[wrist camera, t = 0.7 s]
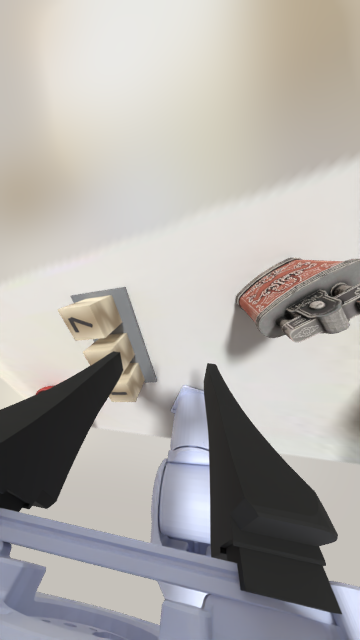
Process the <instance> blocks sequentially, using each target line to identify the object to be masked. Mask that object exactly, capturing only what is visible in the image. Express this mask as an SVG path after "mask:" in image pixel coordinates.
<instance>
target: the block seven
mask: <svg viewBox="0 0 360 640" xmlns="http://www.w3.org/2000/svg"><path fill="white" fill-rule="evenodd" d="M58 312H59V313H60V315H61V317H62V318H63V320H64V322H65V324H66V325H67V327H68V329H69V330H70V332H71V334H72V335H73V337H74V339H75V340H76V341H78V340H89V339H100V338H106V337H107V336H108V335H109V334H110V333H111V332H112V331H113V330H115V329H116V328H117V327H118V326H119V325H120V324H121V323H122V320H121V317H120V315H119V312H118V310H117V307H116V305H115V302H114V299H113V297H112V295H108V296H102V297H95V298H89V299H84V300H81V301H79V302H76V303H74V304H71V305H69V306H66V307H63V308H61V309H58Z"/></svg>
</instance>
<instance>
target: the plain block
mask: <svg viewBox="0 0 360 640" xmlns="http://www.w3.org/2000/svg"><path fill="white" fill-rule="evenodd" d="M113 351H115V352H120V354H121V359H122V365H123V372H122V374H123V373H124V371H125V370H126V368H127V366H128V365H129V363H130V361H131V360H132V358H133V357H134V355H135V353H134V351H133V348H132V345H131V343H130V340H129V338H128V335H127V333H122V334H111V335H108V336H107V337H106V338H100V339H98V340H97V341H95V342H94V343H93V344H92V345H91V346H90V347H88V348H87V349H86V350H85V351H84V352H83V354H84V355H85V357H86V359H87V360H88V362H89V364H90V366H91V365H92V364H94V363H95V362H97V361H99V360H100V359H102V358H103V357H105V356H106V355H108V354H110V353H111V352H113Z"/></svg>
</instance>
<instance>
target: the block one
mask: <svg viewBox="0 0 360 640" xmlns="http://www.w3.org/2000/svg"><path fill="white" fill-rule="evenodd" d="M144 381H145V379H144V376H143V374H142V371H141V369H140V366H139V363H129V365H128V366H127V368H126V370H125V371H124V373H123V374H121V377H120V379H119V381H118V382H117V384H116V386H115V387H114V389H113V391H112V392H111V394H110V395H109V397H110V399H111V401H112V402H136V400H137V398H138V395H139V393H140V390H141V388H142V386H143V383H144Z"/></svg>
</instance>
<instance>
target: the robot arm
mask: <svg viewBox="0 0 360 640" xmlns="http://www.w3.org/2000/svg"><path fill="white" fill-rule="evenodd" d="M122 372H123V365H122V359H121V354H120V352H115V351H113V352H111V353H110V354H108V355H106V356H105V357H103V358H102V359H100V360H99V361H97V362H95V363H94V364H92V365H91V366H89V367H88V368H86V369H84V370H83V371H81V372H79V373H77V374H76V375H74V376H72V377H71V378H69V379H67V380H65V381H63V382H61V383H59V384H57V385H56V386H54V387H52V388H50V389H47V390H45V391H43V392H41V393H39V394H37V395H34V396H32V397H30V398H28V399H26V400H23V401H21V402H19V403H16V404H14V405H11V406H9V407H6V408H4V409H1V410H0V640H360V587H358V586H353V585H349V584H344V583H340V582H334V581H329V580H328V578H327V576H326V573H325V571H324V568H323V566H326V563H325V560H324V557H323V555H322V553H321V550H320V548H319V546H321V545H325V544H329V543H332V542H335V541H336V540H337V536H338V534H337V532H336V530H335V528H334V526H333V524H332V523H331V520H330V518H329V516H328V514H327V512H326V511H325V509H324V507H323V505H322V503H321V502H320V500H319V498H318V496H317V494H316V493H315V492H314V490H312V488H311V487H310V486H309V485H308V484H306V482H305V481H304V480H303V479H302V478H301V477H300V476H299V475H298V474H297V473H296V472H295V471H294V470H293V469H292V468H291V467H290V466H289V465H288V464H287V463H286V462H285V461H284V460H283V459H282V457H281V456H280V455H279V454H278V453H277V452H276V451H275V450H274V448H273V447H272V446H271V445H270V444H269V443H268V441H267V440H266V439H265V438H264V437H263V436H262V434H261V433H260V432H259V431H258V430H257V428H256V427H255V426H254V425H253V423H252V422H251V421H250V419H249V418H248V417H247V415H246V414H245V413H244V411H243V410H242V409H241V407H240V406H239V404H238V403H237V401H236V400H235V398H234V397H233V395H232V393H231V392H230V390H229V388H228V387H227V385H226V383H225V382H224V380H223V378H222V376H221V374H220V372H219V370H218V368H217V366H216V365H215V364H209V363H207V368H206V373H205V378H204V391H202V390H198V389H195V388H192V387H189V386H186V385H184V386H182V388H181V390H180V392H179V394H178V396H177V398H176V400H175V402H174V404H173V406H172V408H171V412H172V413H175V415H174V422H173V429H172V437H171V450H170V451H169V453H168V459H164V460H163V461H162V463H161V465H160V466H159V468H158V471H157V474H156V478H155V482H154V488H153V495H152V506H151V518H152V529H151V543H148V542H144V541H140V540H135V539H131V538H127V537H122V536H118V535H114V534H110V533H106V532H101V531H97V530H92V529H88V528H84V527H80V526H76V525H71V524H67V523H63V522H58V521H54V520H50V519H46V518H41V517H37V516H33V515H29V514H24V513H20V512H19V511H20V510H21V508H26V509H30V508H31V507H32V506H36V507H41V508H45V509H47V508H49V507H50V506H51V505H53V504H54V503H55V502H56V501H57V498H58V496H59V494H60V491H61V489H62V487H63V484H64V482H65V480H66V478H67V475H68V473H69V471H70V469H71V466H72V464H73V462H74V460H75V458H76V456H77V454H78V451H79V449H80V447H81V445H82V443H83V441H84V439H85V437H86V435H87V433H88V431H89V429H90V427H91V426H92V424H93V422H94V420H95V418H96V416H97V414H98V413H99V411H100V409H101V408H102V406H103V405H104V403H105V402H106V400H107V398H108V397H109V395H110V394H111V392H112V391H113V389H114V387H115V386H116V384H117V382H118V381H119V379H120V377H121V374H122ZM10 543H11V544H15V545H19V546H23V547H26V548H31V549H34V550H39V551H42V552H47V553H50V554H54V555H58V556H62V557H66V558H70V559H74V560H78V561H82V562H86V563H90V564H93V565H98V566H101V567H106V568H109V569H113V570H117V571H121V572H125V573H129V574H133V575H136V576H141V577H144V578H149V579H153V580H156V581H157V582H158V584H159V586H160V589H161V591H162V593H163V596H164V598H165V600H164V602H163V604H162V611H161V622H160V625H157V624H154V623H151V622H148V621H145V620H142V619H138V618H136V617H133V616H129V615H126V614H123V613H120V612H116V611H113V610H109V609H106V608H102V607H98V606H94V605H90V604H86V603H82V602H78V601H74V600H70V599H66V598H61V597H57V596H53V595H49V594H45V593H40V592H36V591H37V588H38V586H39V584H40V582H41V580H42V578H43V576H44V574H45V572H46V567H44V566H40V565H37V564H34V563H29V562H26V561H21V560H17V559H12V558H10V556H9V555H10V551H11V544H10ZM322 565H323V566H322Z"/></svg>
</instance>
